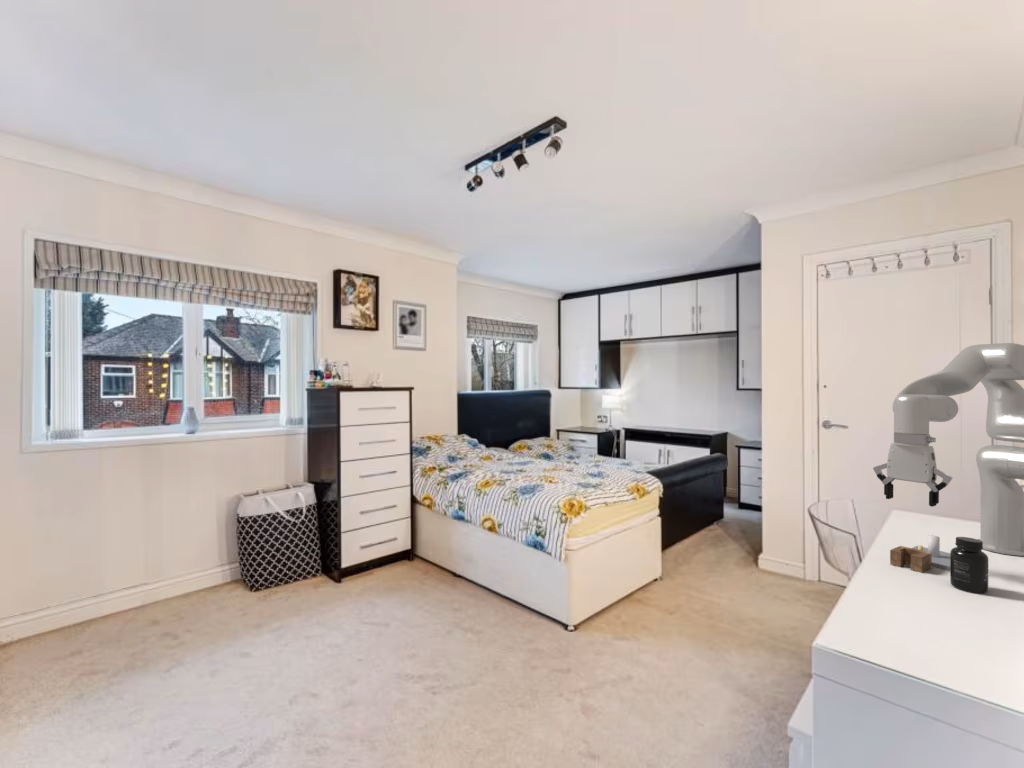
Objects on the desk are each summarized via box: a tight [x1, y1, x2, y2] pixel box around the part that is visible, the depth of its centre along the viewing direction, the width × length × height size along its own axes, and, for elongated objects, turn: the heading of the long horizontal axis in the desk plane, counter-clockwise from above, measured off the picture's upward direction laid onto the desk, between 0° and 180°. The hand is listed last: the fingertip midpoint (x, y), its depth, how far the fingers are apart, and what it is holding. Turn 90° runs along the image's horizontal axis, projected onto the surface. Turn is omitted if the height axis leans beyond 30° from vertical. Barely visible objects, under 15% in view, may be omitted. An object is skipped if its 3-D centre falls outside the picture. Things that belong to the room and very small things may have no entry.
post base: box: [912, 535, 950, 571], centre depth 138 cm, size 14×12×6 cm
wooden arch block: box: [889, 545, 933, 573], centre depth 133 cm, size 7×7×4 cm
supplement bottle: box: [949, 536, 989, 594], centre depth 119 cm, size 7×7×12 cm
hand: (910, 502), depth 133 cm, fingers open, 9 cm apart
